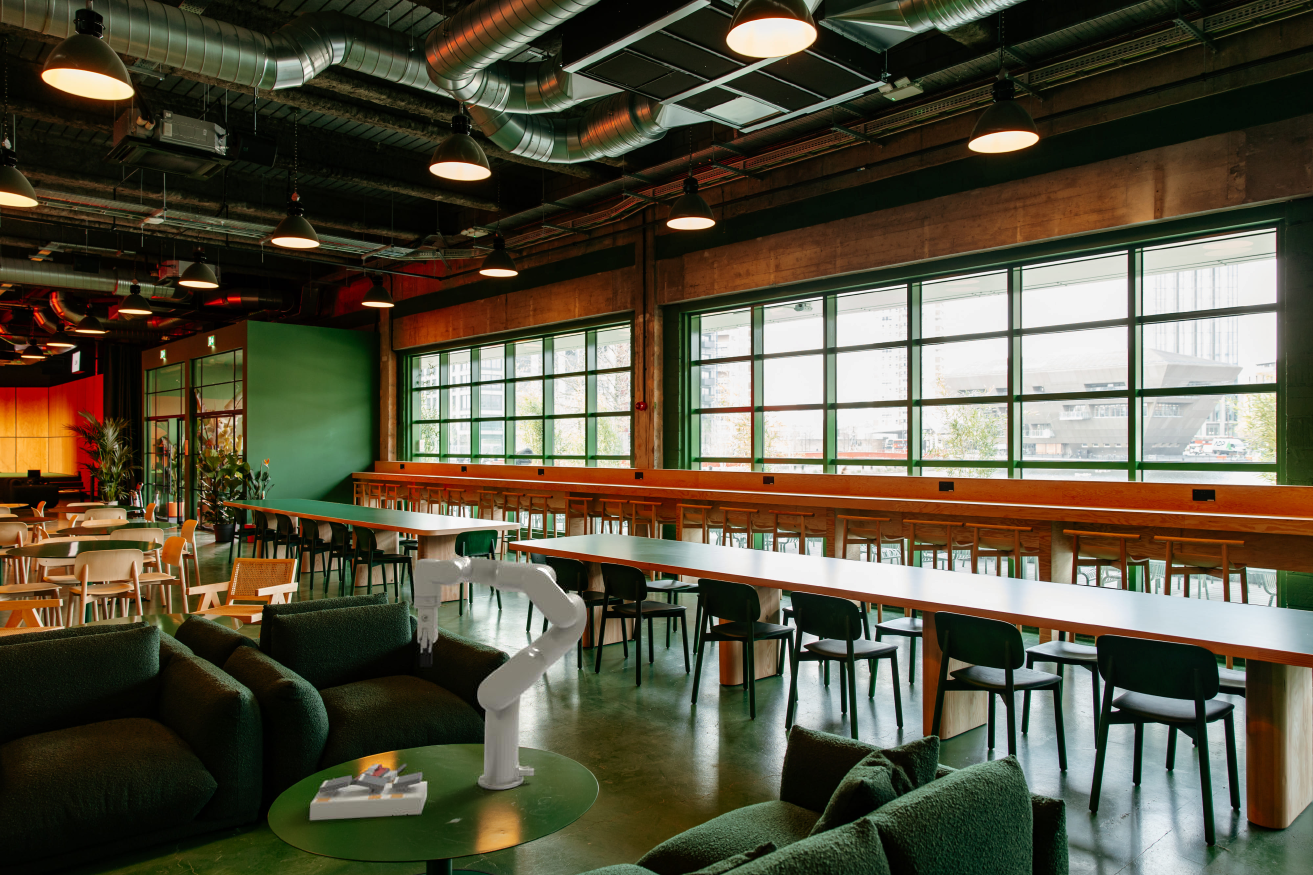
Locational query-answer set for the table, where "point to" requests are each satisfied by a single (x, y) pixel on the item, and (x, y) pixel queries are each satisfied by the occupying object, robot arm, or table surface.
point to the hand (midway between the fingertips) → (426, 665)
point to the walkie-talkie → (380, 773)
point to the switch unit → (368, 802)
